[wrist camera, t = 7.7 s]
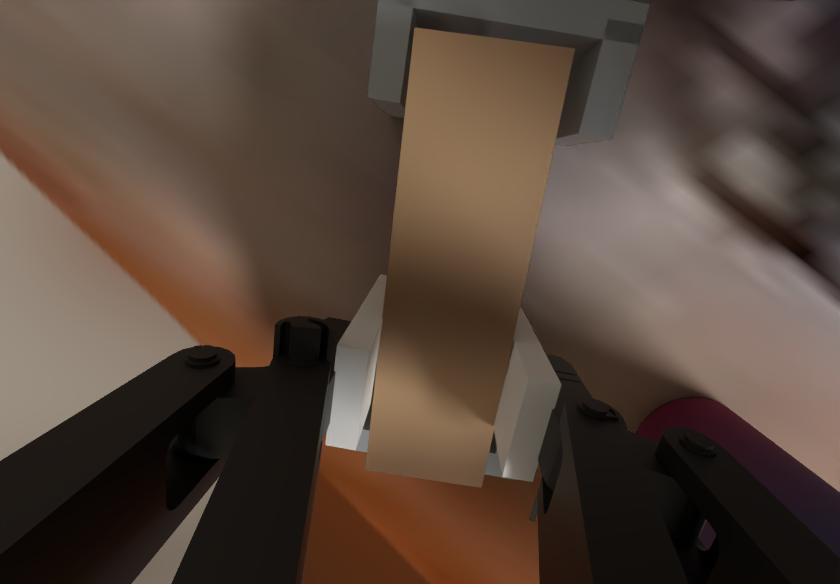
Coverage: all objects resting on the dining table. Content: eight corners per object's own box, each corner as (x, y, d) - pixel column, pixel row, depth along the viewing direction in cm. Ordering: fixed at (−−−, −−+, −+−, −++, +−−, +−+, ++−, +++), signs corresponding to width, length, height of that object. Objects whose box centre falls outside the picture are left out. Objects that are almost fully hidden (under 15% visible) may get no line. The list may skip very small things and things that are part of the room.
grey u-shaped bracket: (567, 145, 17) (612, 139, 13) (389, 115, 17) (366, 97, 13) (591, 50, 16) (650, 4, 11) (402, 19, 16) (382, -40, 12)
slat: (425, 73, 14) (414, 27, 9) (531, 87, 14) (574, 48, 9) (387, 387, 18) (365, 470, 13) (472, 400, 18) (481, 487, 13)
